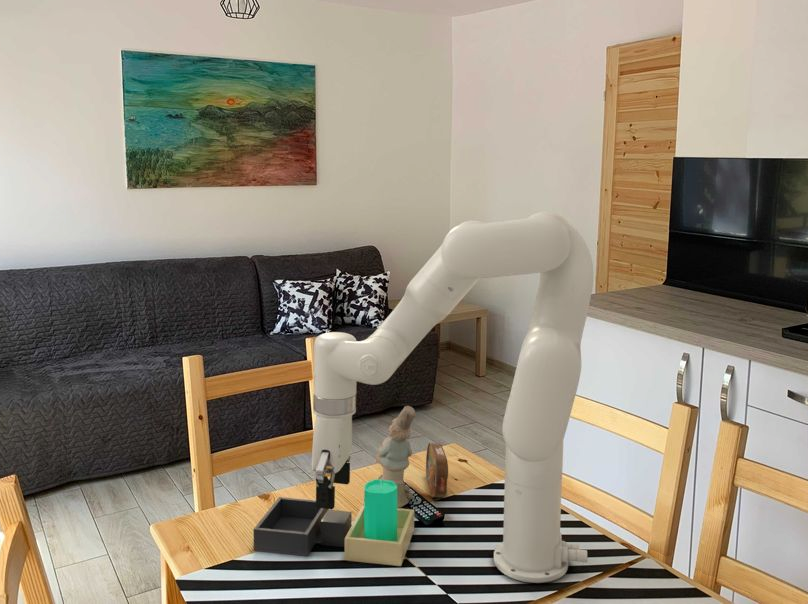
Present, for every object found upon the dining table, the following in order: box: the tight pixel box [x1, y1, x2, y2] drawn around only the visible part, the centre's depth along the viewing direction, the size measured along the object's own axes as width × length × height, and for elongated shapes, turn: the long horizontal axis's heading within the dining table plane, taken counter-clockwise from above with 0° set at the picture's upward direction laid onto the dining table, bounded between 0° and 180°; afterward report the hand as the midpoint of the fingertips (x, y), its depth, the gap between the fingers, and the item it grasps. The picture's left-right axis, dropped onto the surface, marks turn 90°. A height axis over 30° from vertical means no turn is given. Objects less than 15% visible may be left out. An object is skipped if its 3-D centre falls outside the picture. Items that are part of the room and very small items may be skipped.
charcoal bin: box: [253, 496, 330, 557], centre depth 130 cm, size 10×12×4 cm
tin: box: [425, 442, 449, 498], centre depth 149 cm, size 15×3×8 cm, turn 6°
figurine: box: [375, 405, 416, 508], centre depth 143 cm, size 9×8×20 cm
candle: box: [363, 478, 397, 542], centre depth 126 cm, size 6×6×12 cm
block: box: [320, 509, 353, 549], centre depth 128 cm, size 4×4×4 cm
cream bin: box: [344, 504, 415, 567], centre depth 127 cm, size 10×12×4 cm
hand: (333, 494), depth 128 cm, fingers open, 9 cm apart
